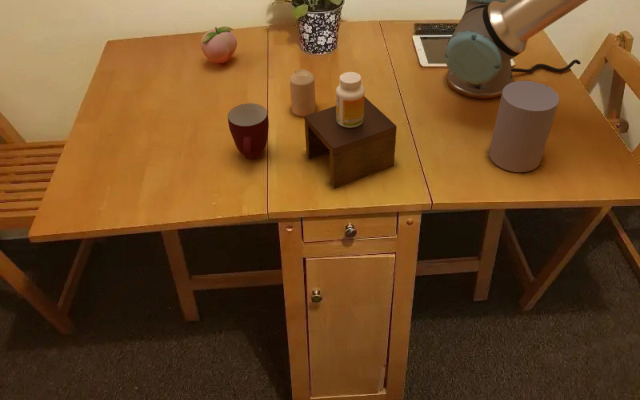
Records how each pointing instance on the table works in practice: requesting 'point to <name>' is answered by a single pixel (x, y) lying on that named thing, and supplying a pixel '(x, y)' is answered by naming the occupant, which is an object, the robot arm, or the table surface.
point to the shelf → (351, 143)
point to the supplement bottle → (350, 100)
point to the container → (523, 125)
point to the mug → (249, 129)
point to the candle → (302, 92)
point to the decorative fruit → (219, 44)
